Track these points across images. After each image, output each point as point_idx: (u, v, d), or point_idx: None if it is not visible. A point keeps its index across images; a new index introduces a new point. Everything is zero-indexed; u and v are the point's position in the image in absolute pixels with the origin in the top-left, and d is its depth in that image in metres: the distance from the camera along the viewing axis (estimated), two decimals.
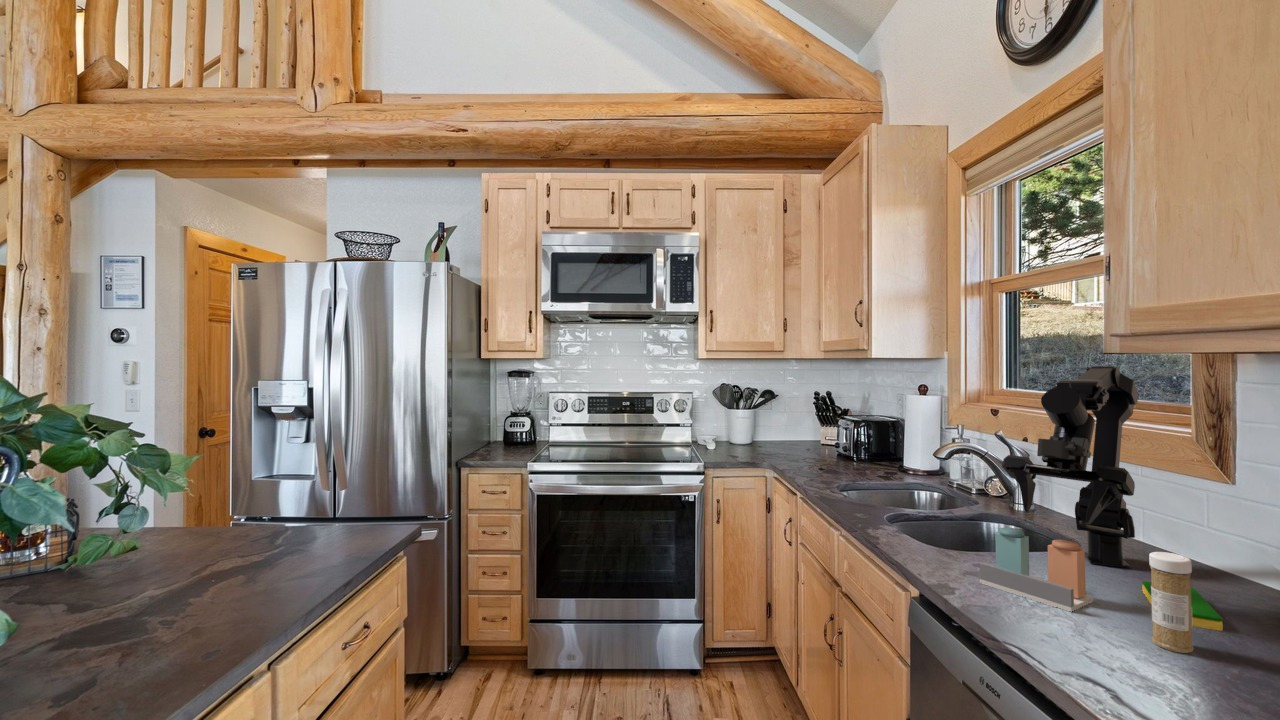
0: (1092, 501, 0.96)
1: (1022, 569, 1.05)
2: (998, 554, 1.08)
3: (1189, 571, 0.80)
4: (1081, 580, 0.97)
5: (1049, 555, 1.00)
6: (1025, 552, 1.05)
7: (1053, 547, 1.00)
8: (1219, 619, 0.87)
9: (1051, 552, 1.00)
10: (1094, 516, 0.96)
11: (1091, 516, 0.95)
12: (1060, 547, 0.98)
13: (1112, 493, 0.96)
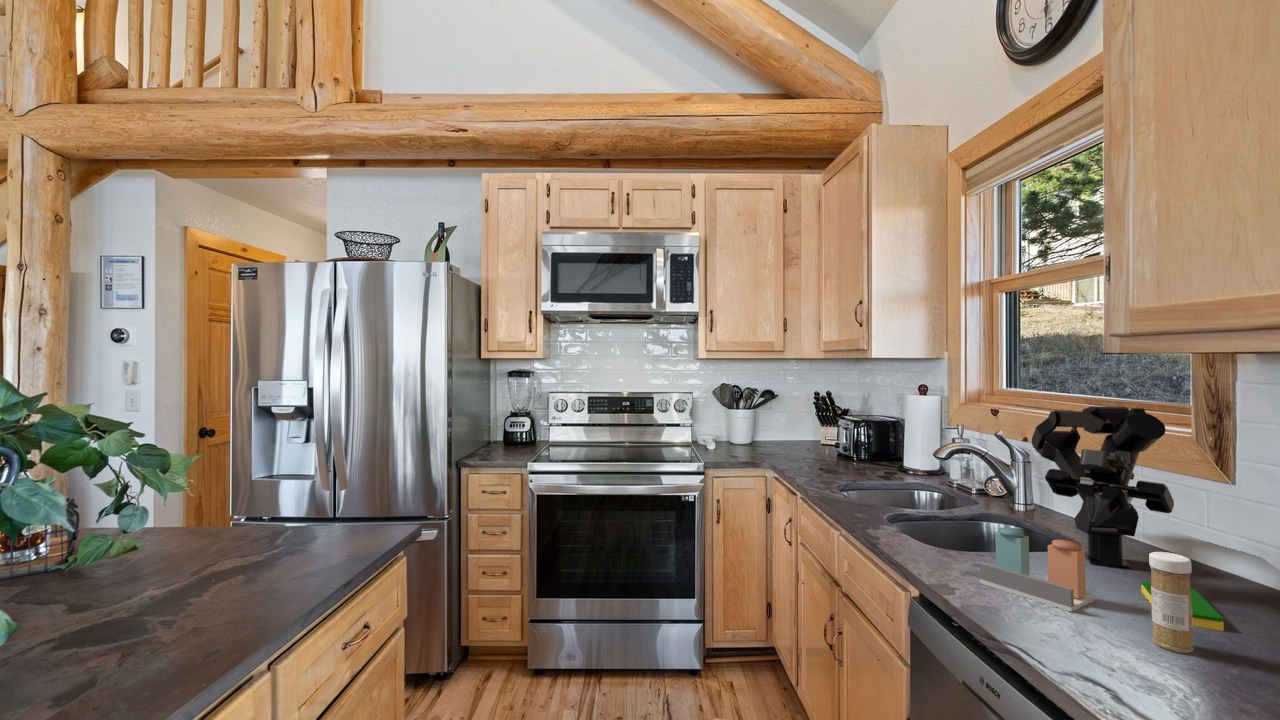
0: (1100, 506, 1.05)
1: (1022, 569, 1.05)
2: (998, 554, 1.08)
3: (1189, 571, 0.80)
4: (1081, 580, 0.97)
5: (1049, 555, 1.00)
6: (1025, 552, 1.05)
7: (1053, 547, 1.00)
8: (1220, 619, 0.87)
9: (1051, 552, 1.00)
10: (1101, 520, 1.05)
11: (1097, 519, 1.04)
12: (1060, 547, 0.98)
13: (1120, 503, 1.05)
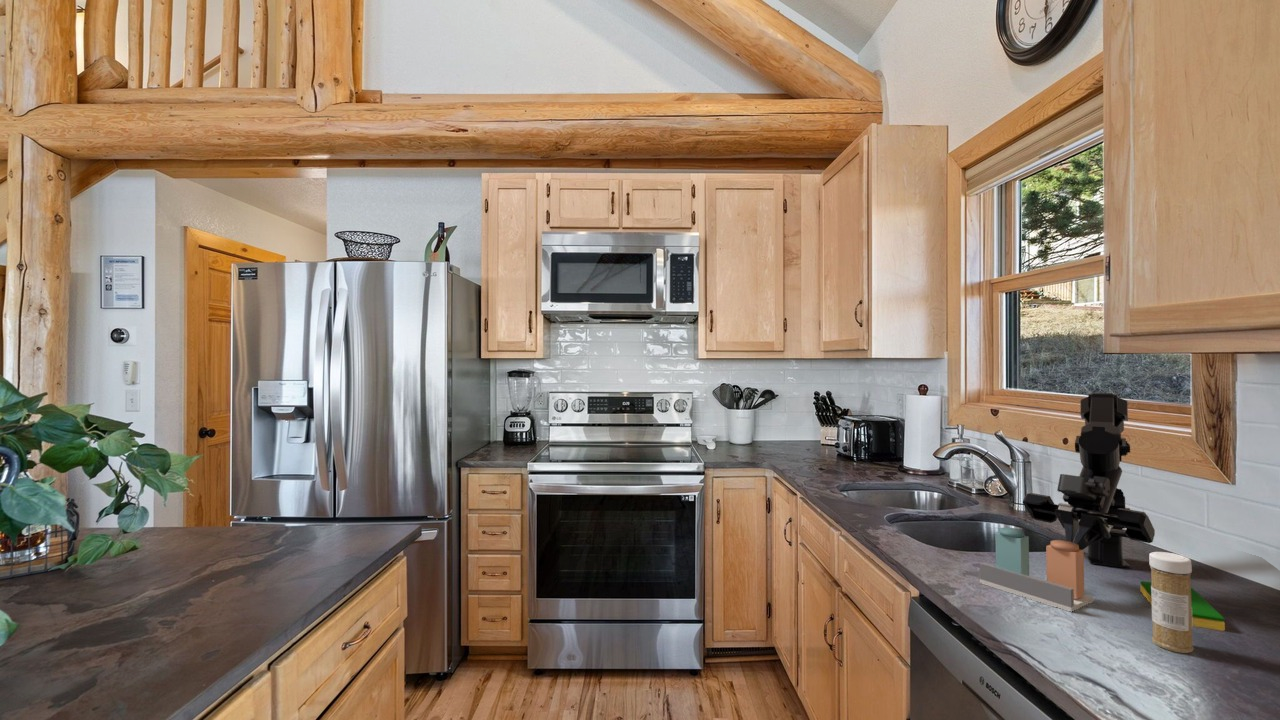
0: (1078, 534, 1.00)
1: (1022, 569, 1.05)
2: (998, 554, 1.08)
3: (1189, 571, 0.80)
4: (1080, 581, 0.97)
5: (1048, 556, 1.00)
6: (1025, 552, 1.05)
7: (1052, 548, 1.00)
8: (1221, 619, 0.87)
9: (1050, 553, 1.00)
10: (1079, 548, 1.00)
11: None
12: (1059, 548, 0.98)
13: (1099, 531, 1.01)
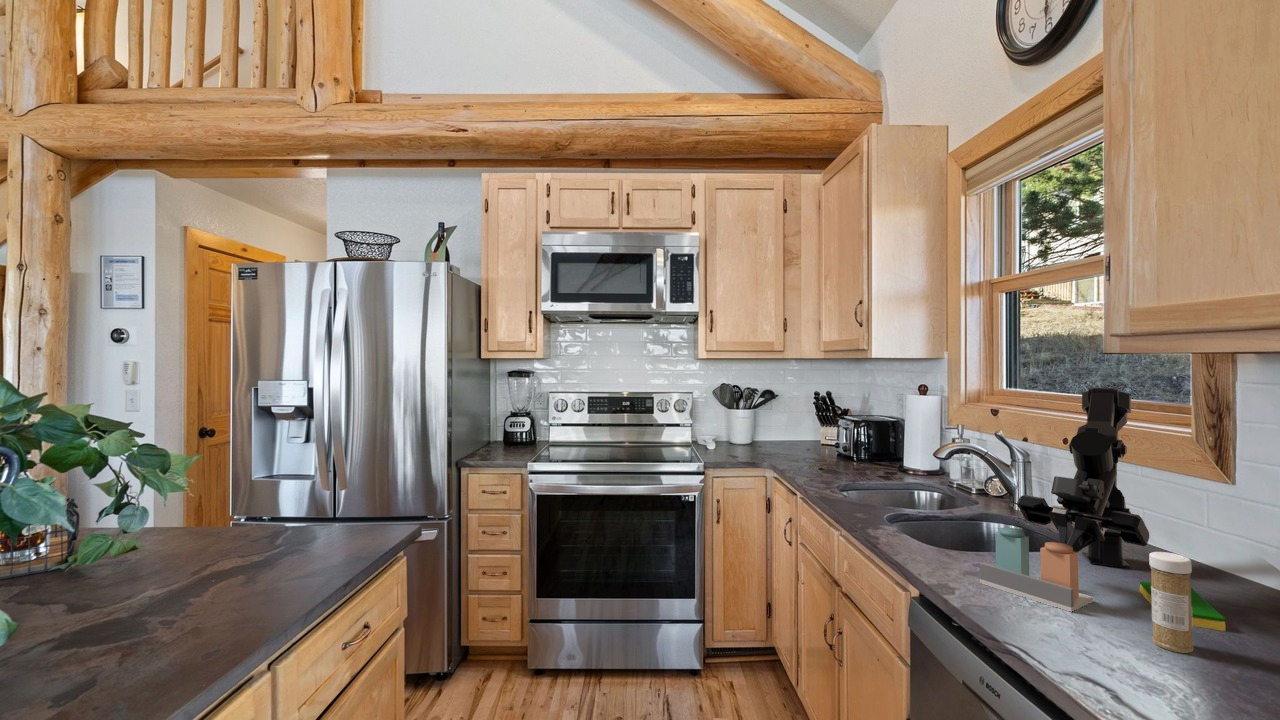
0: (1072, 537, 1.00)
1: (1022, 569, 1.05)
2: (998, 554, 1.08)
3: (1189, 571, 0.80)
4: (1074, 584, 0.96)
5: (1042, 558, 0.99)
6: (1025, 552, 1.05)
7: (1046, 550, 0.98)
8: (1222, 619, 0.87)
9: (1044, 555, 0.99)
10: None
11: None
12: (1053, 550, 0.97)
13: (1093, 534, 1.00)
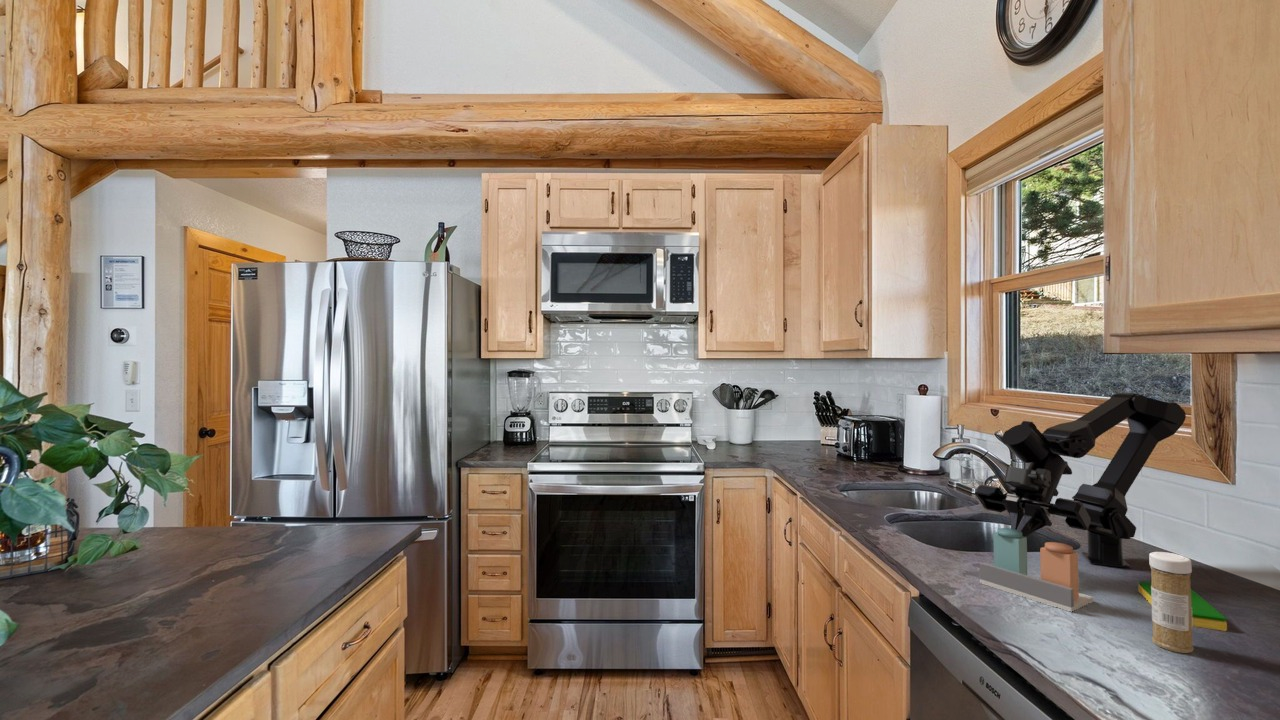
0: (1022, 522, 1.08)
1: (1020, 570, 1.04)
2: (996, 555, 1.08)
3: (1189, 571, 0.80)
4: (1074, 584, 0.96)
5: (1042, 558, 0.99)
6: (1023, 553, 1.05)
7: (1046, 550, 0.98)
8: (1223, 619, 0.87)
9: (1044, 555, 0.99)
10: (1023, 535, 1.08)
11: None
12: (1053, 550, 0.97)
13: (1042, 519, 1.08)
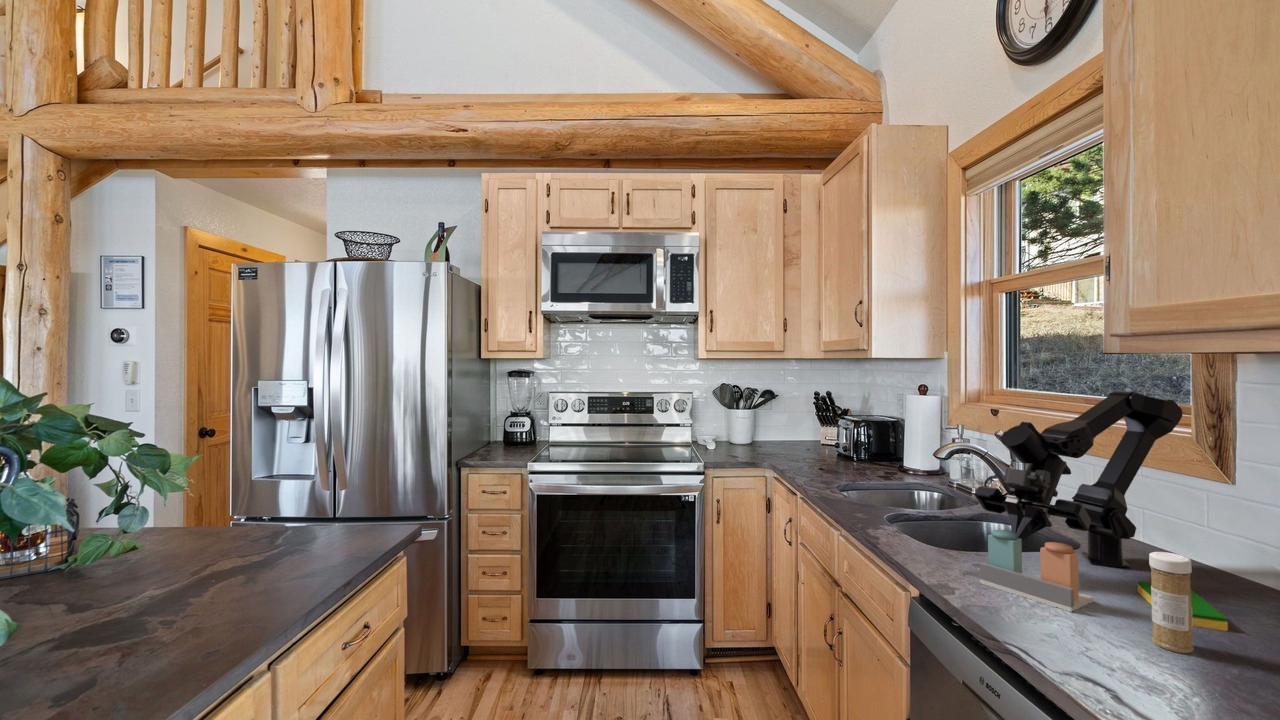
0: (1022, 524, 1.08)
1: None
2: (991, 556, 1.07)
3: (1189, 571, 0.80)
4: (1074, 584, 0.96)
5: (1042, 558, 0.99)
6: (1017, 555, 1.04)
7: (1046, 550, 0.98)
8: (1224, 619, 0.87)
9: (1044, 555, 0.99)
10: (1023, 537, 1.08)
11: (1019, 536, 1.07)
12: (1053, 550, 0.97)
13: (1042, 521, 1.08)
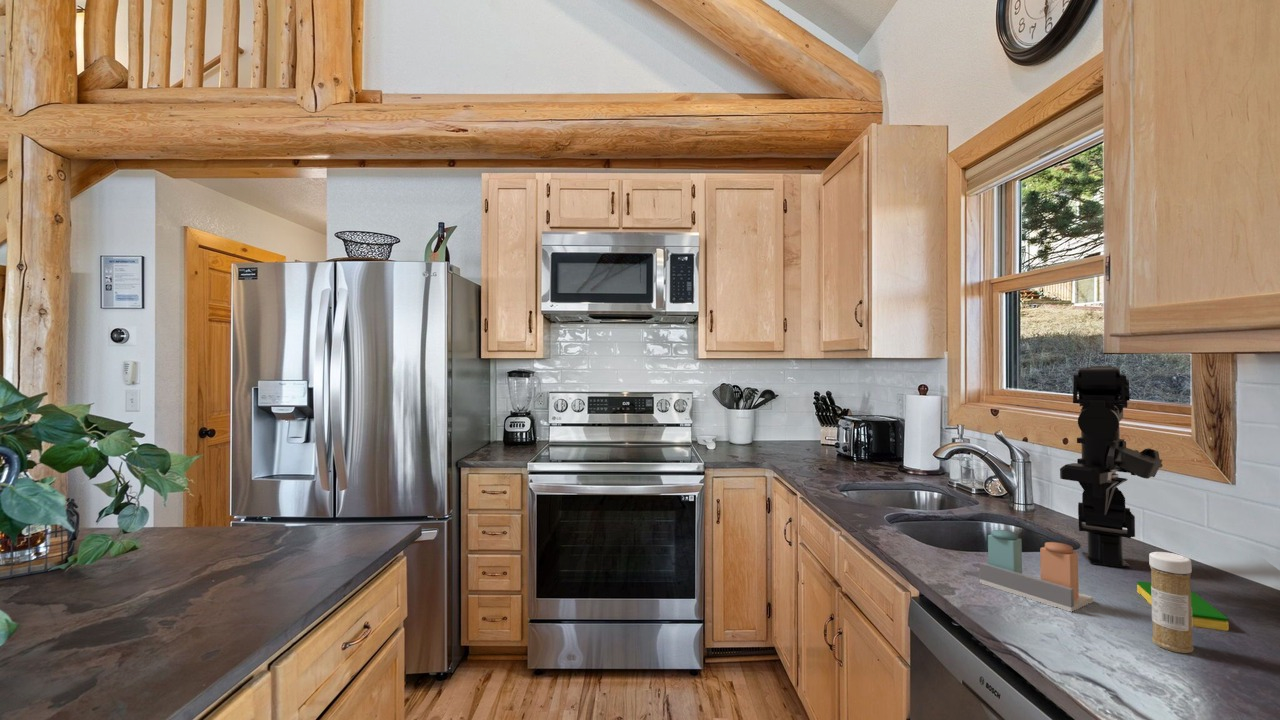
0: (1109, 496, 1.06)
1: None
2: (991, 556, 1.07)
3: (1189, 571, 0.80)
4: (1074, 584, 0.96)
5: (1042, 558, 0.99)
6: (1017, 555, 1.04)
7: (1046, 550, 0.98)
8: (1225, 619, 0.87)
9: (1044, 555, 0.99)
10: None
11: None
12: (1053, 550, 0.97)
13: None
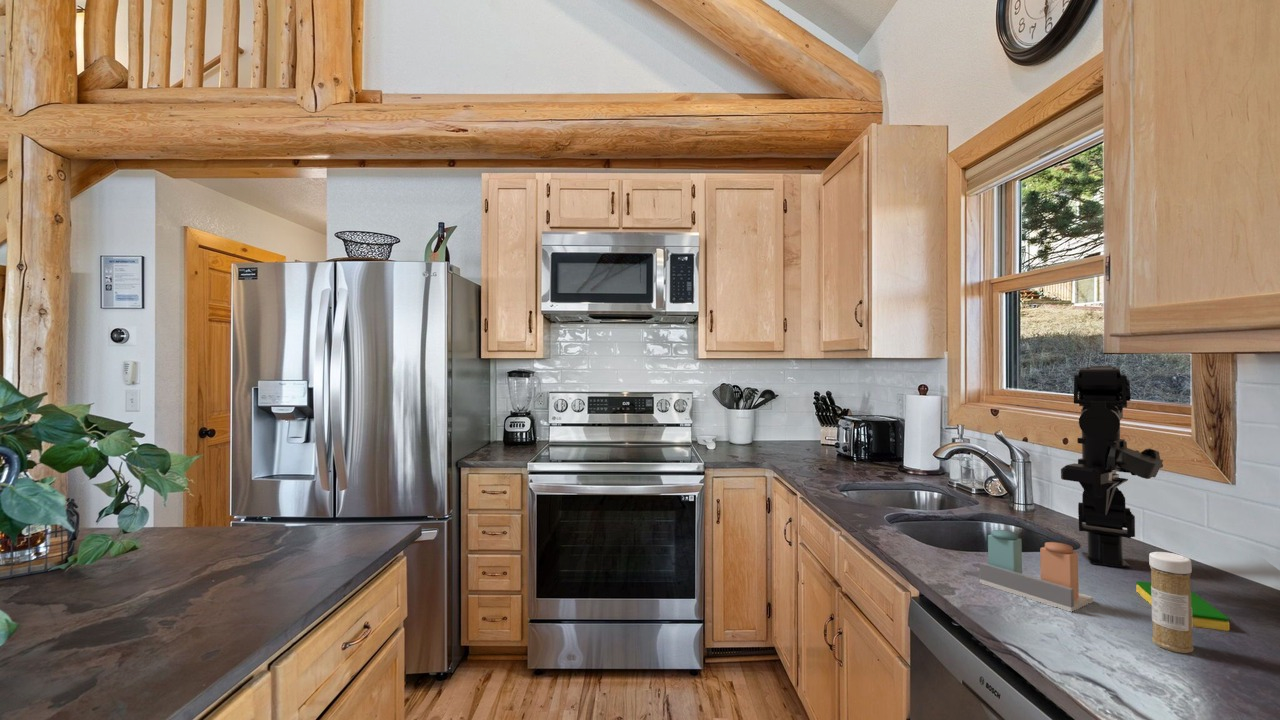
0: (1110, 496, 1.06)
1: None
2: (991, 556, 1.07)
3: (1189, 571, 0.80)
4: (1074, 584, 0.96)
5: (1042, 558, 0.99)
6: (1017, 555, 1.04)
7: (1046, 550, 0.98)
8: (1226, 619, 0.87)
9: (1044, 555, 0.99)
10: None
11: None
12: (1053, 550, 0.97)
13: None
